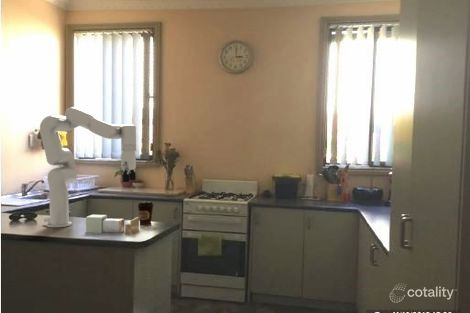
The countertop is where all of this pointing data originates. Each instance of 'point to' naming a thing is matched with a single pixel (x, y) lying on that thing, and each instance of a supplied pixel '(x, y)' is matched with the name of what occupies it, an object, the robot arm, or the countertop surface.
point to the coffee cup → (145, 212)
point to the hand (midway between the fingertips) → (129, 181)
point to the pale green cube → (94, 223)
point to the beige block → (132, 226)
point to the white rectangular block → (112, 225)
